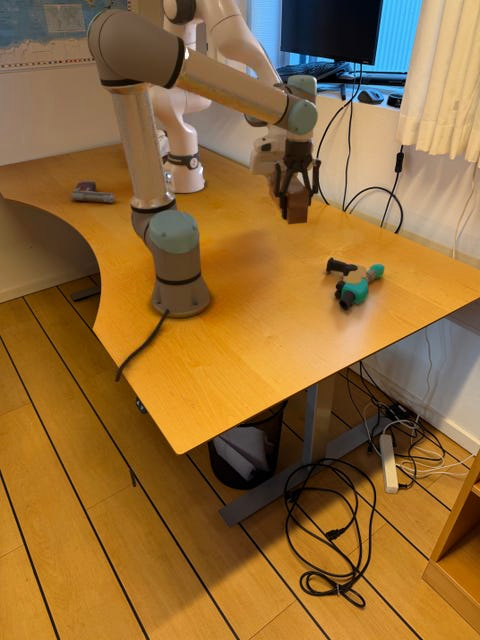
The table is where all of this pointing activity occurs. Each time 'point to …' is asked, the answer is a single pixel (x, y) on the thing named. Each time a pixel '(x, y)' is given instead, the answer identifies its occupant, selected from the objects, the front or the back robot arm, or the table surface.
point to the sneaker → (163, 142)
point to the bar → (293, 199)
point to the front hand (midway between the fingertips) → (294, 217)
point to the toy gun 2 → (353, 281)
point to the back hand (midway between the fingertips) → (280, 185)
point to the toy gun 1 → (90, 193)
